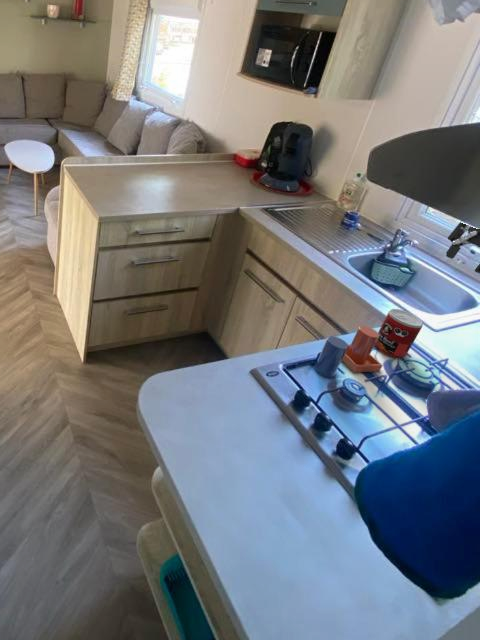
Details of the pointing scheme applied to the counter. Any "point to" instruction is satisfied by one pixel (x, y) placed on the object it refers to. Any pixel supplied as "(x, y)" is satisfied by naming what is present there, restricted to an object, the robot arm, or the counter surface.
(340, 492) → the counter surface
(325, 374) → the cylinder
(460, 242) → the robot arm
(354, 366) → the terracotta tray
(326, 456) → the counter surface
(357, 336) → the cylinder
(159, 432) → the counter surface
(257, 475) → the counter surface
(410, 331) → the canned food
